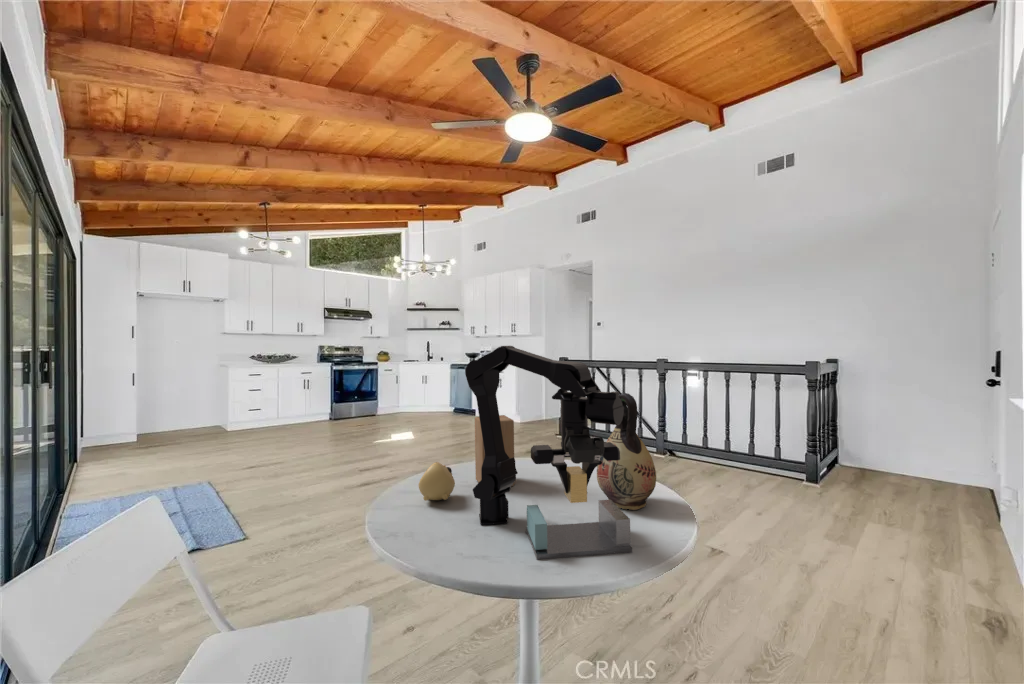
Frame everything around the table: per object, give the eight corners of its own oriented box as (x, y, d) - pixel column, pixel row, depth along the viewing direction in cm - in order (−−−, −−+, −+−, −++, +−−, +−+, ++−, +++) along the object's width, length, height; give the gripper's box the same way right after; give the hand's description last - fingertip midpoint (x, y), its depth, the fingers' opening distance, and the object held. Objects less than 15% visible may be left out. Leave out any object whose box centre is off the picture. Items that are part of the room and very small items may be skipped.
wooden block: (475, 480, 148) (474, 416, 148) (505, 476, 151) (504, 414, 151) (482, 489, 138) (481, 422, 138) (515, 486, 141) (514, 419, 141)
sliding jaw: (535, 549, 96) (535, 524, 96) (527, 528, 107) (526, 505, 107) (547, 549, 96) (547, 523, 96) (537, 527, 107) (537, 504, 107)
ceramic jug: (588, 497, 130) (586, 389, 130) (638, 492, 134) (637, 387, 133) (614, 520, 114) (613, 397, 113) (672, 514, 117) (670, 394, 117)
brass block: (571, 502, 99) (570, 474, 99) (564, 493, 105) (564, 466, 105) (587, 501, 100) (586, 473, 100) (579, 492, 106) (579, 466, 106)
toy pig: (457, 492, 137) (456, 455, 136) (453, 507, 125) (452, 467, 124) (423, 492, 136) (422, 456, 136) (415, 507, 124) (415, 467, 124)
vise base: (536, 559, 94) (536, 527, 94) (526, 531, 108) (525, 503, 108) (632, 552, 97) (631, 521, 97) (609, 525, 111) (609, 498, 111)
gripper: (539, 429, 93) (539, 507, 93) (629, 426, 95) (630, 502, 96) (529, 419, 104) (530, 489, 104) (611, 416, 107) (611, 485, 107)
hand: (575, 492), depth 103 cm, fingers closed on brass block, 3 cm apart
